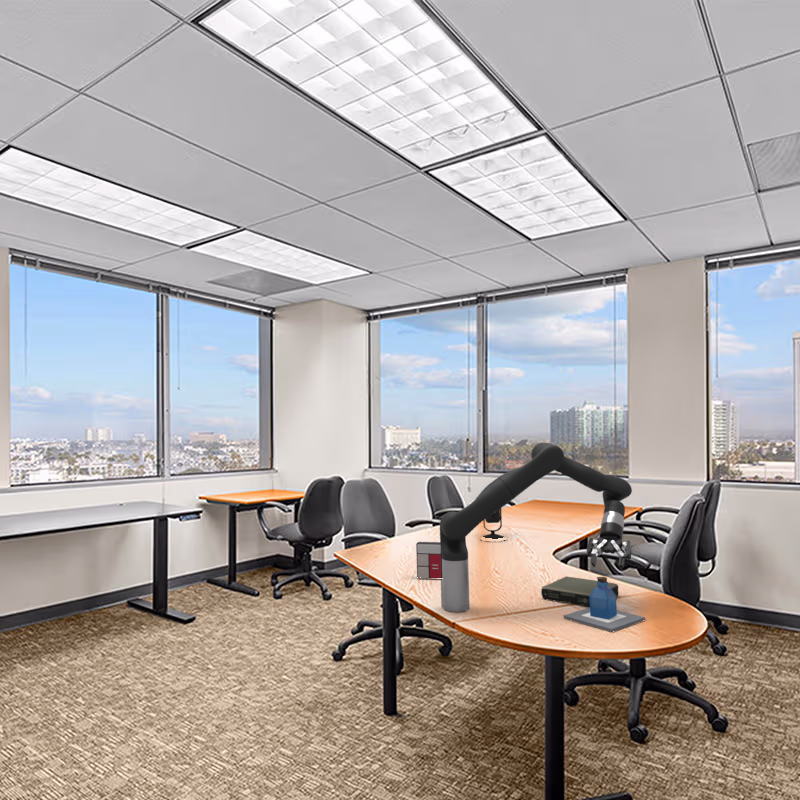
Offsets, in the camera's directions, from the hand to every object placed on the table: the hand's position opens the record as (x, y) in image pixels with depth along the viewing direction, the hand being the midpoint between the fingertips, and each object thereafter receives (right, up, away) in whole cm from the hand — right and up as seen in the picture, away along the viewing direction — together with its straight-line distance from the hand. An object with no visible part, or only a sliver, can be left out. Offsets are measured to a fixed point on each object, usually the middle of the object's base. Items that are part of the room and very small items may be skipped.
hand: (606, 566), depth 200 cm
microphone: (-16, -25, +142) cm, 145 cm away
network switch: (-3, -17, +19) cm, 26 cm away
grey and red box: (-57, -20, +52) cm, 80 cm away
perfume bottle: (-4, -14, -7) cm, 16 cm away
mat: (-4, -15, -8) cm, 17 cm away
